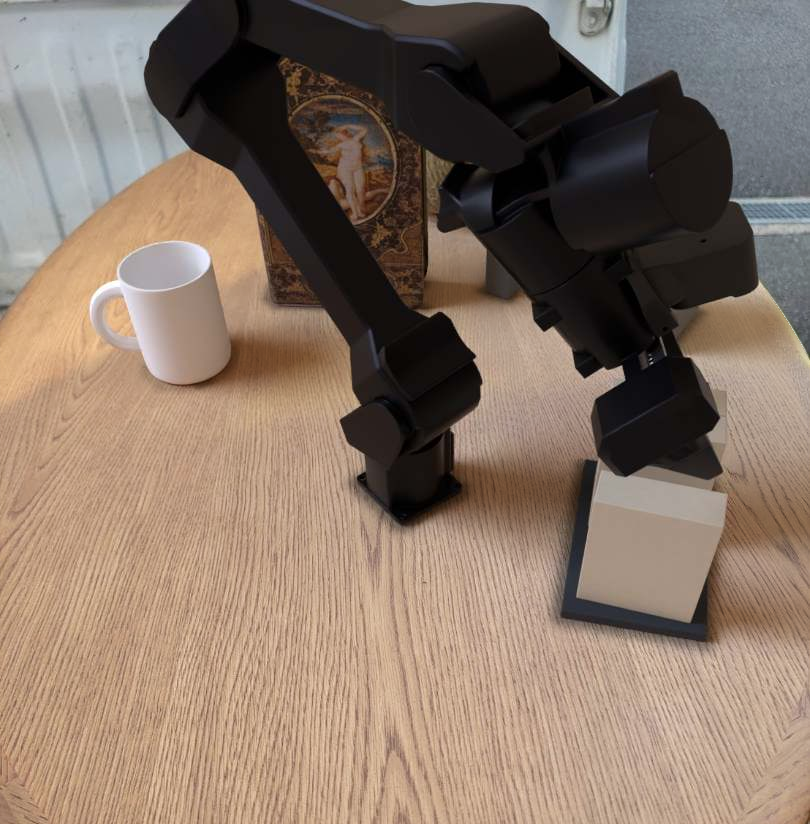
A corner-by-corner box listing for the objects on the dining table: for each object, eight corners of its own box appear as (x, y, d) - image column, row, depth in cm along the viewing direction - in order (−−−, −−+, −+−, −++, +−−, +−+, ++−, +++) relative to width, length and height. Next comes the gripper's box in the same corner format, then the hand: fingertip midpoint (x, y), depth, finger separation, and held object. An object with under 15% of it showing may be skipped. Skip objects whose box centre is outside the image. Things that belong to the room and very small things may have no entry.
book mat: (560, 617, 62) (576, 514, 54) (583, 465, 73) (600, 360, 65) (704, 641, 61) (743, 539, 53) (707, 483, 71) (741, 376, 63)
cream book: (576, 597, 63) (593, 501, 55) (583, 567, 64) (601, 469, 57) (690, 623, 61) (724, 527, 53) (694, 591, 63) (728, 493, 55)
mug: (101, 394, 81) (65, 298, 74) (114, 341, 87) (82, 246, 79) (230, 384, 82) (207, 287, 74) (235, 332, 87) (214, 237, 79)
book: (266, 305, 90) (218, 41, 71) (276, 276, 94) (233, 17, 75) (424, 309, 88) (418, 41, 70) (428, 279, 92) (424, 17, 73)
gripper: (740, 249, 37) (877, 462, 45) (665, 90, 50) (782, 278, 58) (527, 386, 43) (683, 554, 51) (508, 212, 56) (636, 368, 64)
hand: (700, 427), depth 56 cm, fingers open, 9 cm apart
